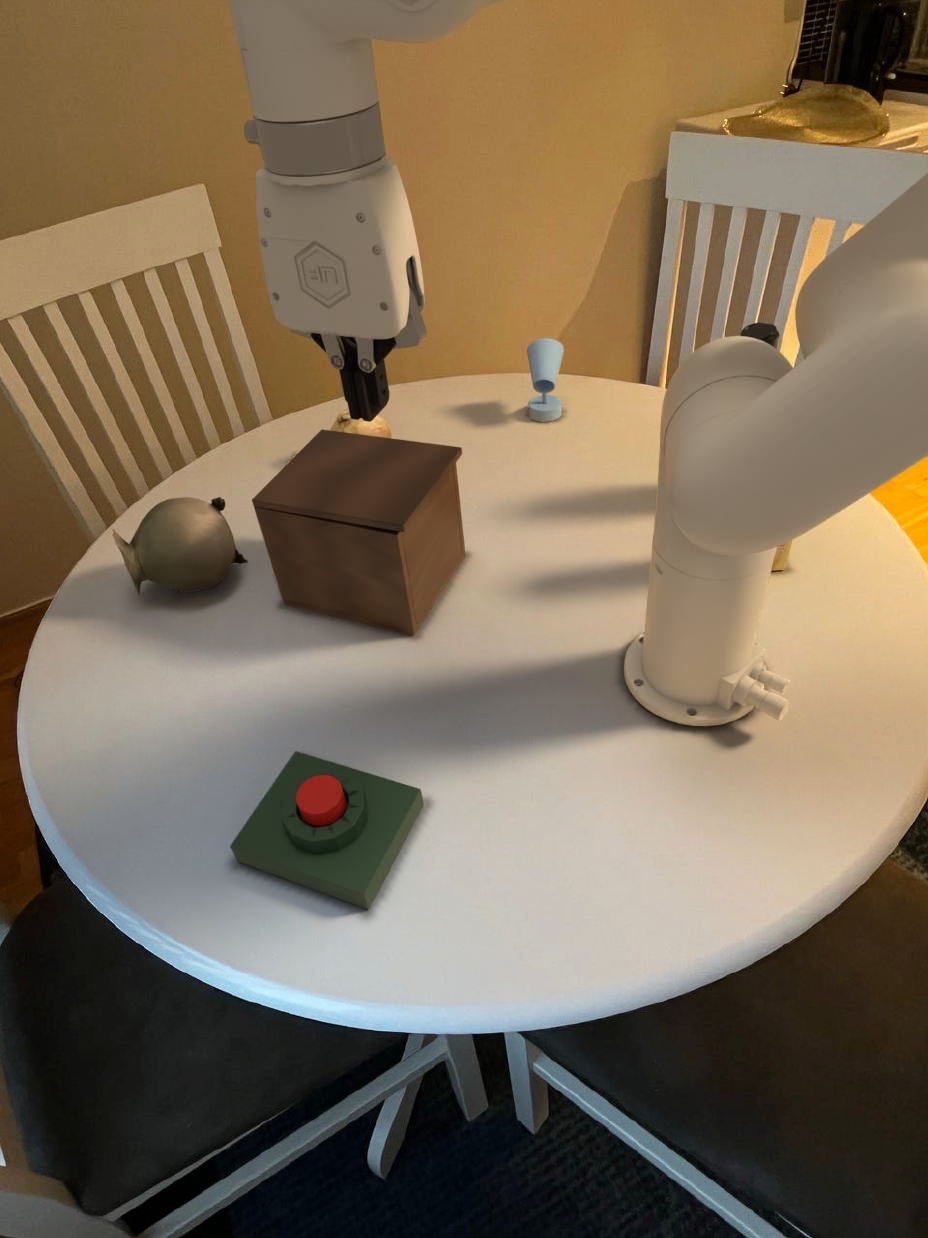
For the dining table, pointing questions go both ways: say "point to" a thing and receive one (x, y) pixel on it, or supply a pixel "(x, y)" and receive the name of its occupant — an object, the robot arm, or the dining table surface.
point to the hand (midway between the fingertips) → (369, 411)
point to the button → (321, 800)
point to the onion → (361, 425)
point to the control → (330, 831)
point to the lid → (360, 479)
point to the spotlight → (545, 378)
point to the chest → (368, 562)
